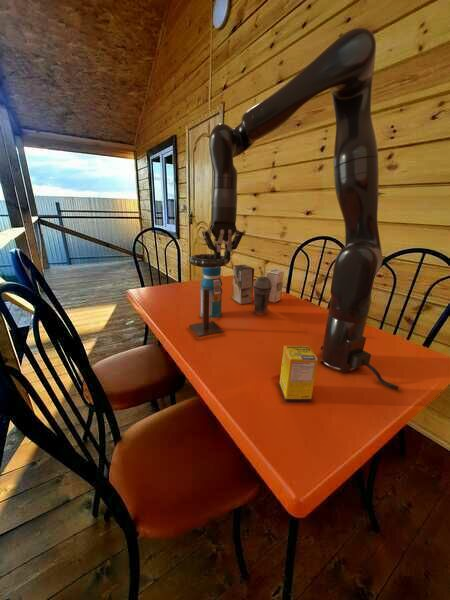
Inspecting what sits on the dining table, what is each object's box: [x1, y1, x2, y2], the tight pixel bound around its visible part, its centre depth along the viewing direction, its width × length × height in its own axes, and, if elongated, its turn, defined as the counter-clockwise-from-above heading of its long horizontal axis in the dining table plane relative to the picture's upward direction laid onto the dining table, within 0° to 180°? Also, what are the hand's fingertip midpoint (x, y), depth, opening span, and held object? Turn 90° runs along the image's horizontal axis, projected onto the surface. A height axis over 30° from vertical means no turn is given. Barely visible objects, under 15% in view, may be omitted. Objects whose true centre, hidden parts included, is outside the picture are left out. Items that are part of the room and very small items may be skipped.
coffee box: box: [231, 264, 255, 305], centre depth 117 cm, size 9×6×16 cm
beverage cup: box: [253, 265, 272, 314], centre depth 101 cm, size 7×7×20 cm
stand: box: [188, 288, 224, 338], centre depth 84 cm, size 9×9×16 cm
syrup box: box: [266, 268, 285, 304], centre depth 119 cm, size 6×6×14 cm
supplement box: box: [278, 345, 319, 402], centre depth 57 cm, size 6×6×11 cm
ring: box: [188, 253, 228, 268], centre depth 79 cm, size 12×12×2 cm
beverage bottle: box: [199, 267, 223, 319], centre depth 97 cm, size 8×8×20 cm
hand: (222, 263), depth 81 cm, fingers closed on ring, 2 cm apart
